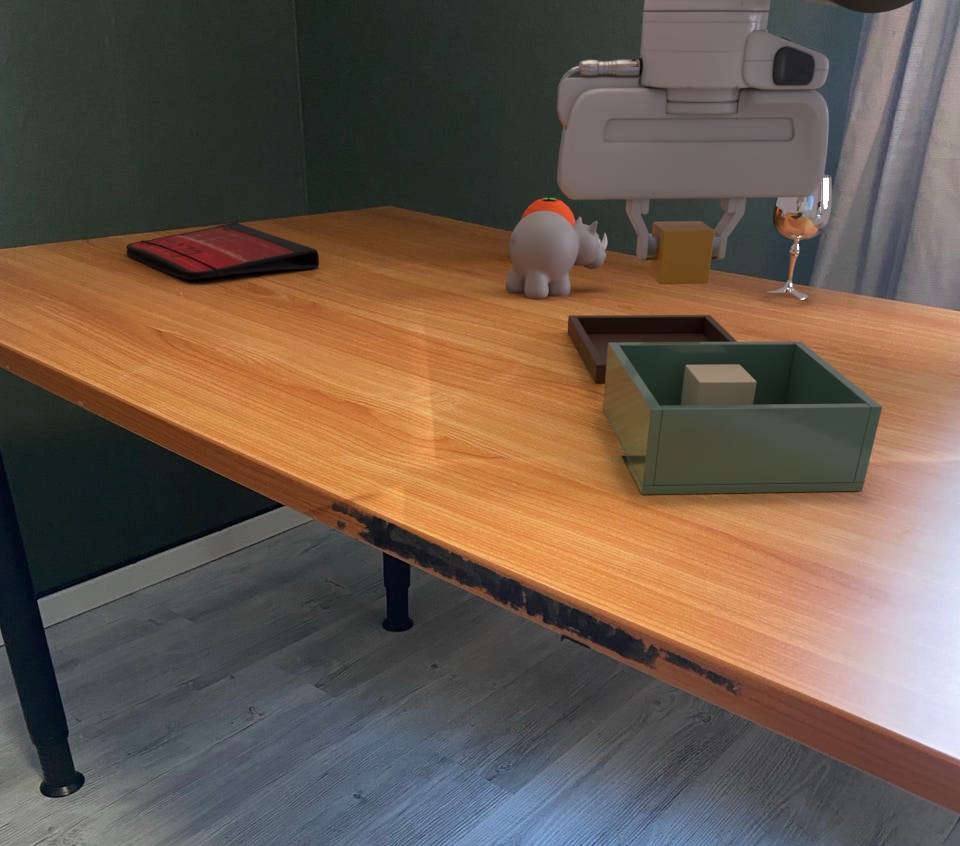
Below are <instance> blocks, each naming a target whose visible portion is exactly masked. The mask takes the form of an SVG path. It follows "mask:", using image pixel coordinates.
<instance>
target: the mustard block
mask: <svg viewBox="0 0 960 846" xmlns="http://www.w3.org/2000/svg"><path fill="white" fill-rule="evenodd" d="M714 230H715V229H713V228H712V227H710V226H709V225H707V224H706V223H704V222H703V221H702V220H697V221H696V220H690V221H688V220H687V221H686V220H685V221H683V220H682V221H677V220H676V221H653V222H652V228H651V233H655V234H656V235H657V236H659V237H660V242H659V248H658V251H659V253H658V259H657V260H649V261H648V263H649V264H648V274H649V275H650V276H651V277H652V278H653V279H654V280H655V281H656V282H657V284H658V285H690V284H691V285H693V284H694V285H696V284H709V280H710V274H711V273H710V272H711V265H712V259H711V256H712V248H713V240H714Z"/></svg>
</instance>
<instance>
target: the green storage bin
mask: <svg viewBox="0 0 960 846" xmlns="http://www.w3.org/2000/svg"><path fill="white" fill-rule="evenodd" d="M721 364H739V365H741V366H742V367H743V368H744V369H745V370H746V371H747V372H748V373H749V375H750V376H751V377H752V378H753V379H754V380H755V381H756V388H755V394H754V400H753V405H681V397H682V389H683V381H684V373H685V366H686V365H721ZM882 409H883V406H882V405H881V404H880V403H878V402H877V401H876V400H874V398H872V397H871V396H869V394H867V393H866V392H865V391H864V390H862V389H861V388H860V387H858V386H857V385H856V384H855V383H853V382H852V381H851V380H850V379H848V378H847V377H846V376H845V375H844V374H842V373H841V372H840V371H839V370H838V369H836V368H835V366H833V365H831V364H830V363H829V362H828V361H826V359H824V358H823V357H821V356H820V355H819V354H818V353H817V352H815V351H814V350H813V349H812V348H810V347H809V346H808V345H806V344H805V342H803V341H801V340H798V341H797V340H795V341H787V340H786V341H782V340H781V341H738V342H619V343H617V342H609V343H608V351H607V363H606V375H605V384H604V388H603V400H602V412H603V414H604V416H605V418H606V419H607V422H608V424H609V425H610V427H611V429H612V431H613V433H614V435H615V436H616V439H617V441H618V442H619V445H620V446H621V448H622V451H623V452H624V454H625V455H622V457H621V458H622V459H623V460H624V463H625V465H626V467H627V468H628V471H629V473H630V474H631V476H632V478H633V480H634V481H635V484H636V486H637V489H638V490H639V492H640V494H641V495H645V496H646V495H647V496H648V495H698V494H699V495H702V494H704V495H705V494H707V495H708V494H759V493H764V494H765V493H766V494H767V493H817V492H818V493H821V492H822V493H823V492H825V493H826V492H829V493H830V492H862V491H863V490H864V485H865V482H866V477H867V473H868V469H869V465H870V461H871V456H872V452H873V447H874V444H875V439H876V435H877V431H878V426H879V422H880V418H881V414H882V411H883V410H882Z"/></svg>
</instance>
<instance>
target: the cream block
mask: <svg viewBox="0 0 960 846" xmlns="http://www.w3.org/2000/svg"><path fill="white" fill-rule="evenodd" d="M755 388H756V381H755V380H754V379H753V378H752V377H751V376H750V375H749V373H748V372H747V371H746V370H745V369H744V368H743V367H742V366H741V365H739V364H721V365H686V366H685V373H684V381H683V389H682V397H681V405H753V400H754V394H755Z"/></svg>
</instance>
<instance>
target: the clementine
mask: <svg viewBox="0 0 960 846" xmlns="http://www.w3.org/2000/svg"><path fill="white" fill-rule="evenodd" d="M537 211H551V212H555V213H557V214H559V215H561V216H563V217H564V218H565V219H566V220H567V221H568V222H569V223H570V224H571V225H572V226H574V225H575V223H576V219H575V216H574V213H573V211H572V210H571V208H570V207H569V206H568V205H567V204H566V203H565V202H564V201H562V200H560V199H557V198H556V197H550V196H548V197H543V198H539V199H536V200H535V201H533V202H532V203H531V204H530V205H528V206H527V208H526V209H525V210H524V211H523V214H522V216H521V219H520V221H521V220H522V219H523V218H524V217H526V216H527V215H529V214H531V213H534V212H537Z"/></svg>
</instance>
